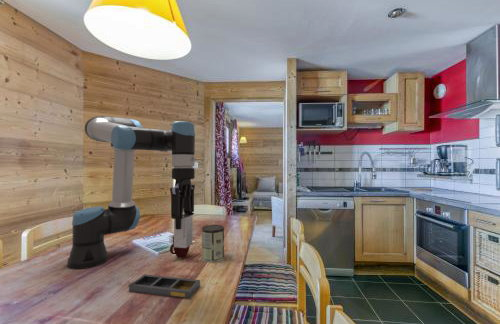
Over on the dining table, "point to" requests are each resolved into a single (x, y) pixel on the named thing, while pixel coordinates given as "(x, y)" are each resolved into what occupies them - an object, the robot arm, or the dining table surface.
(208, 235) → the coffee can
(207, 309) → the dining table surface
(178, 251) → the mug
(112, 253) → the dining table surface
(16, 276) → the dining table surface
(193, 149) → the robot arm
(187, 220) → the grey block with knob
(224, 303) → the dining table surface
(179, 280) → the grey compartment tray
